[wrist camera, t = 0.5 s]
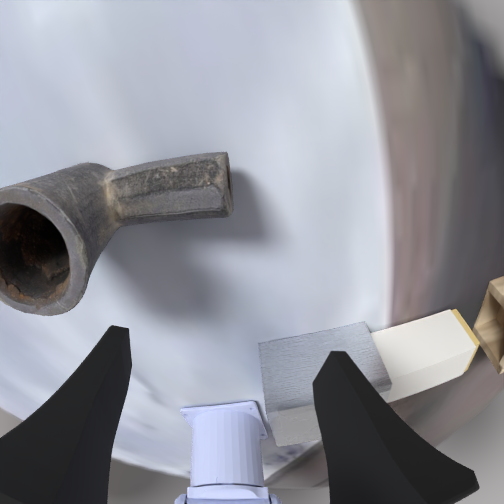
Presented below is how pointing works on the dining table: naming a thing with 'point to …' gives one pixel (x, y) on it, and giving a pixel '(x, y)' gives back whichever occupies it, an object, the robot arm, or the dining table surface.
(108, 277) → the dining table surface
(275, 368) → the sleeve
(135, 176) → the pipe
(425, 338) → the long white bar
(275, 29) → the dining table surface
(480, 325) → the socket
